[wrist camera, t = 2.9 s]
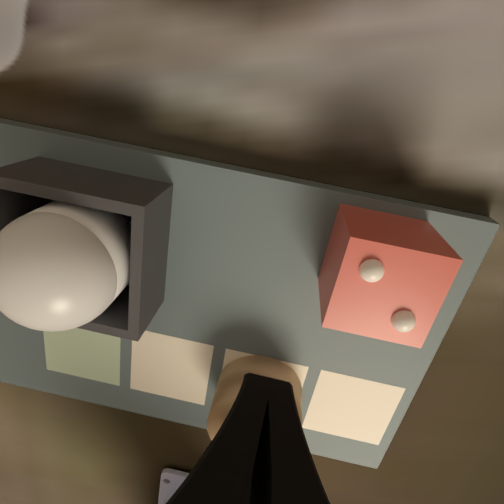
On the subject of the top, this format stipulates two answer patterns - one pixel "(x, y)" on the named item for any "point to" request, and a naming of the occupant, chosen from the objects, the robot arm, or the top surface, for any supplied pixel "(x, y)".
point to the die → (384, 276)
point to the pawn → (233, 380)
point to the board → (217, 288)
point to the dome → (62, 265)
